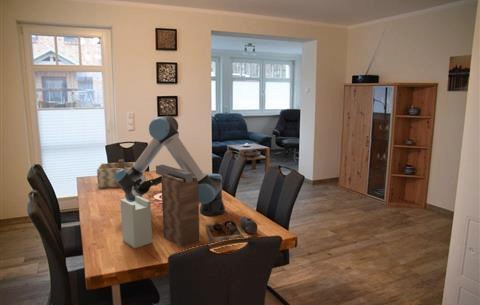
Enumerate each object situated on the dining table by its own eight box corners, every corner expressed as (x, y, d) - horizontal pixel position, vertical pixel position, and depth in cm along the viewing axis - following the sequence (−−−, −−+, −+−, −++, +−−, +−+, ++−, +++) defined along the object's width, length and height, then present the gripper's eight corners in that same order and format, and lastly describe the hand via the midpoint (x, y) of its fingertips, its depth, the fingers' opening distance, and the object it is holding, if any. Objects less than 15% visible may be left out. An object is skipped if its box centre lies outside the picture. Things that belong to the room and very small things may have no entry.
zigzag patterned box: (135, 178, 292) (135, 162, 289) (134, 185, 270) (133, 167, 267) (102, 180, 286) (101, 163, 283) (98, 187, 264) (97, 169, 261)
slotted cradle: (122, 240, 169) (120, 199, 166) (139, 235, 175) (137, 195, 172) (134, 248, 161) (132, 205, 157) (152, 242, 167) (150, 201, 163)
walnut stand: (163, 237, 173) (161, 174, 168) (180, 231, 180) (178, 171, 175) (182, 247, 162) (180, 180, 157) (199, 241, 169) (198, 177, 163)
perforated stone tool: (237, 226, 187) (236, 213, 186) (246, 224, 189) (246, 212, 188) (248, 236, 174) (248, 223, 173) (258, 235, 176) (258, 221, 175)
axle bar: (156, 173, 178) (155, 165, 177) (163, 172, 180) (162, 164, 180) (185, 182, 159) (185, 174, 158) (192, 181, 162) (192, 172, 161)
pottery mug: (233, 230, 183) (238, 219, 179) (233, 244, 175) (239, 234, 171) (210, 226, 180) (215, 215, 176) (210, 240, 173) (215, 229, 168)
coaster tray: (235, 228, 185) (235, 222, 184) (243, 241, 169) (243, 235, 168) (206, 230, 181) (206, 225, 181) (211, 244, 165) (211, 238, 164)
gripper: (162, 190, 203) (179, 178, 188) (121, 199, 186) (136, 186, 171) (158, 178, 204) (175, 165, 189) (117, 186, 188) (132, 172, 173)
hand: (156, 175), depth 180 cm, fingers open, 13 cm apart
